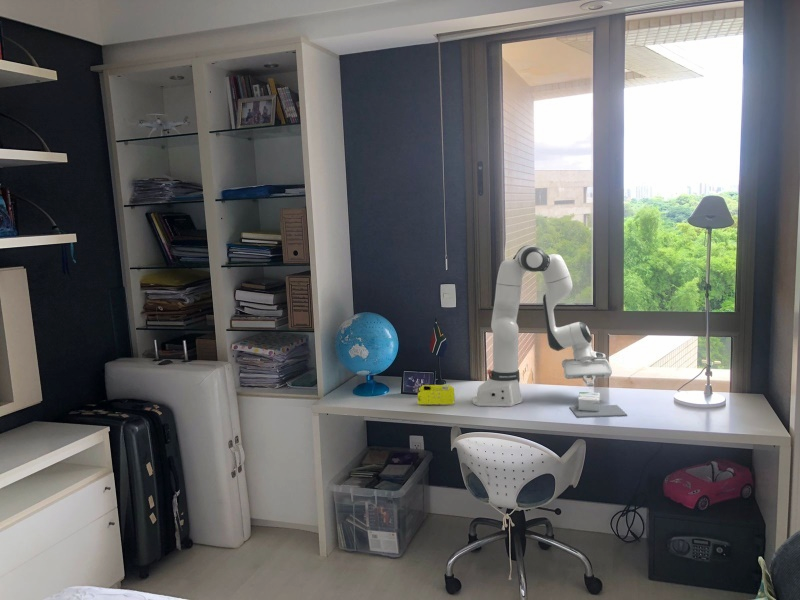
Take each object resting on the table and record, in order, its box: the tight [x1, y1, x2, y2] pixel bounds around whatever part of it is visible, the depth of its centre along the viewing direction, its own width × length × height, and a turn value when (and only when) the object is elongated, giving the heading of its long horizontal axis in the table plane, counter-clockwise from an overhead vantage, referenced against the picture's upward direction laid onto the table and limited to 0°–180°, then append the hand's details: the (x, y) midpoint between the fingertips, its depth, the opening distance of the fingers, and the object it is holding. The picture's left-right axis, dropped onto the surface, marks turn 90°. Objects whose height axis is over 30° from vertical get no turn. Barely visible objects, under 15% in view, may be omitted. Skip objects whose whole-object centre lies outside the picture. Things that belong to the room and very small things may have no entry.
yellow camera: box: [417, 384, 455, 406], centre depth 289 cm, size 16×6×8 cm, turn 80°
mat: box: [569, 404, 628, 419], centre depth 267 cm, size 20×14×1 cm
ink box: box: [577, 391, 601, 411], centre depth 272 cm, size 9×5×12 cm
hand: (590, 385), depth 277 cm, fingers closed
